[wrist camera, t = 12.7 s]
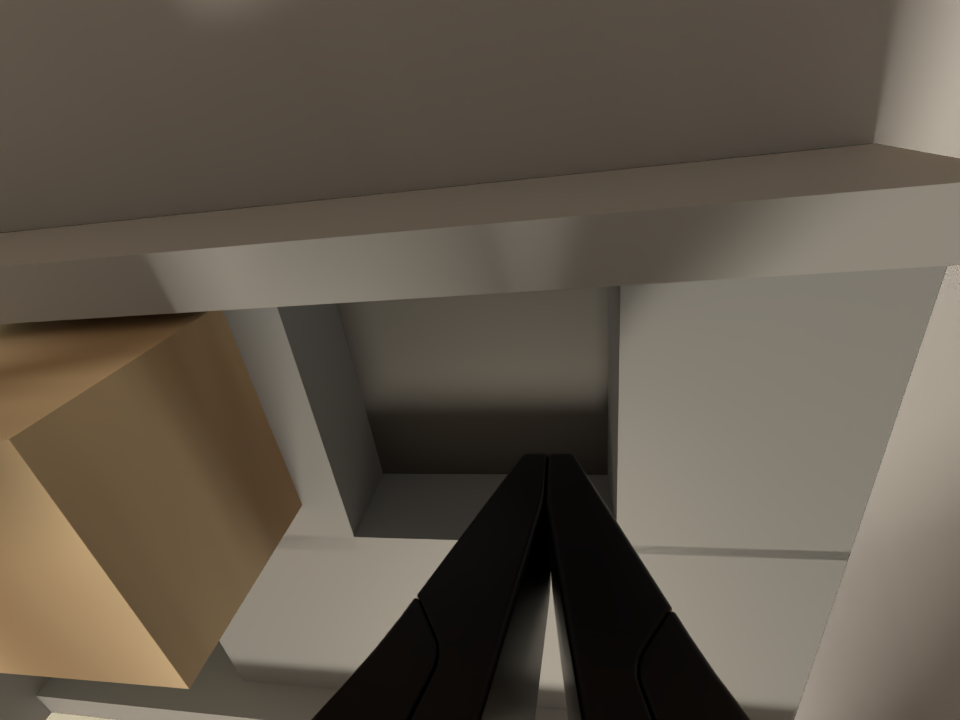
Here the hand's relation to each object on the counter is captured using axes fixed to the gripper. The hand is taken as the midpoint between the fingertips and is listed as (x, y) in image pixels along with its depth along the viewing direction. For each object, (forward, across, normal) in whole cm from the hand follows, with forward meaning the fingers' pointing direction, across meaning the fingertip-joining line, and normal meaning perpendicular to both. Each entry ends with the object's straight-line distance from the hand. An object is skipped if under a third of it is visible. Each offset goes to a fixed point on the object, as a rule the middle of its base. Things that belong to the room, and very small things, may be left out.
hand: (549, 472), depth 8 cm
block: (+1, +8, 0) cm, 8 cm away
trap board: (+4, +6, +3) cm, 8 cm away
